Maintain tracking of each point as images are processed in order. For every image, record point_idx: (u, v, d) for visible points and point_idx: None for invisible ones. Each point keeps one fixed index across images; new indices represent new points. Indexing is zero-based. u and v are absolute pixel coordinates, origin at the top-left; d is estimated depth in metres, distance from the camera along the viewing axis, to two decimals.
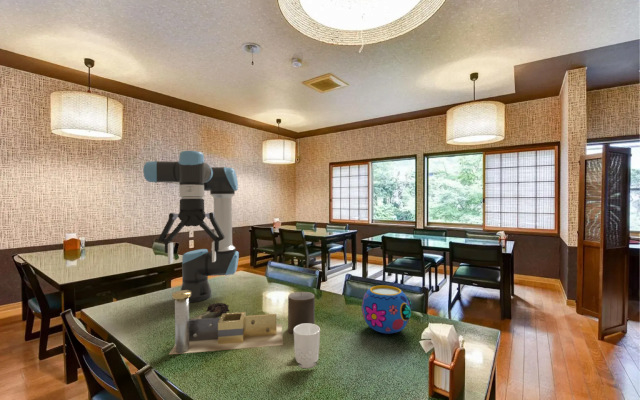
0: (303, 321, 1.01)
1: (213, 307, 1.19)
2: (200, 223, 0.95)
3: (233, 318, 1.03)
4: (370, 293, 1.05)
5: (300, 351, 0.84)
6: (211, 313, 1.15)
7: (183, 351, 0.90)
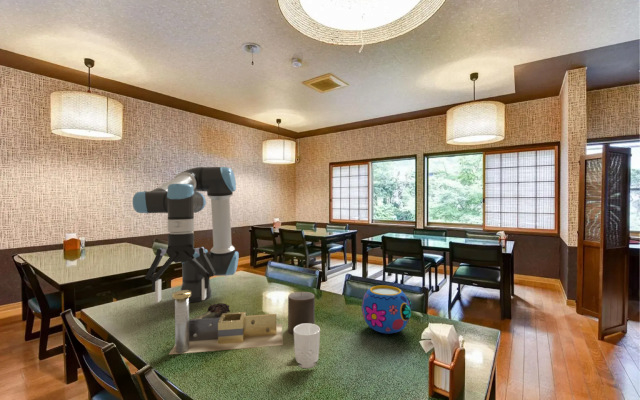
0: (303, 321, 1.01)
1: (214, 307, 1.18)
2: (189, 259, 0.90)
3: (233, 318, 1.03)
4: (370, 293, 1.05)
5: (300, 351, 0.84)
6: (212, 313, 1.15)
7: (183, 351, 0.90)
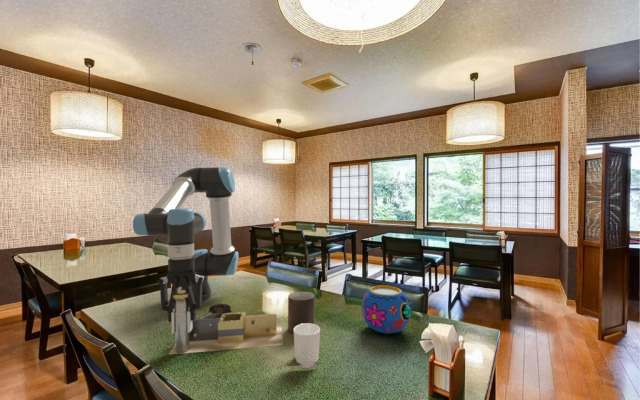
0: (303, 321, 1.01)
1: (215, 308, 1.18)
2: (185, 286, 0.91)
3: (233, 318, 1.03)
4: (370, 293, 1.05)
5: (300, 351, 0.84)
6: (213, 314, 1.14)
7: (183, 351, 0.90)
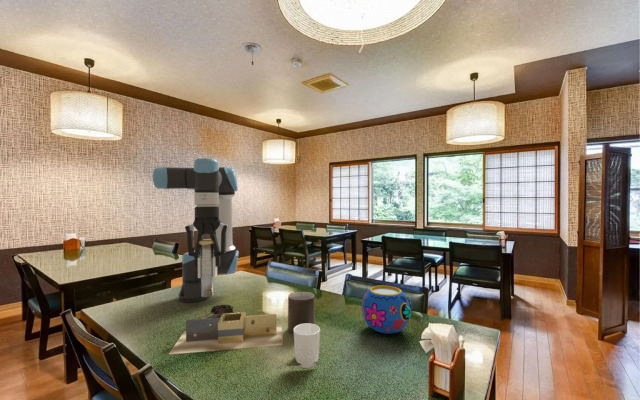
0: (303, 321, 1.01)
1: (217, 309, 1.17)
2: (211, 233, 0.94)
3: (233, 318, 1.03)
4: (370, 293, 1.05)
5: (300, 351, 0.84)
6: (214, 315, 1.13)
7: (209, 295, 0.94)
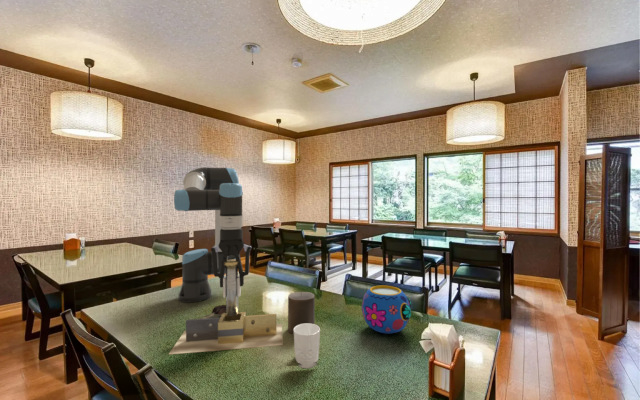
0: (303, 321, 1.01)
1: (218, 309, 1.17)
2: (236, 254, 0.99)
3: (233, 318, 1.03)
4: (370, 293, 1.05)
5: (300, 351, 0.84)
6: (215, 315, 1.13)
7: (234, 314, 0.98)
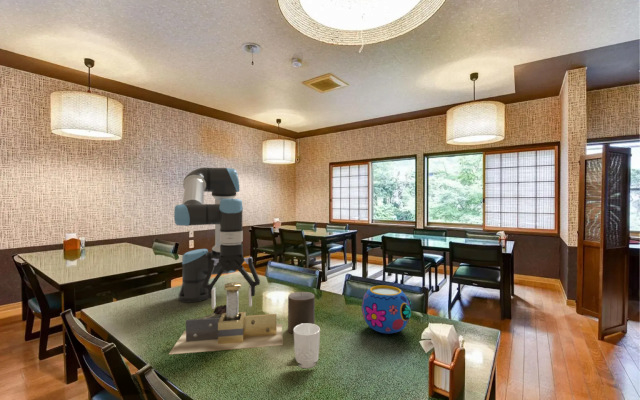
0: (303, 321, 1.01)
1: (220, 309, 1.17)
2: (239, 268, 0.99)
3: None
4: (370, 293, 1.05)
5: (300, 351, 0.84)
6: (216, 315, 1.13)
7: None
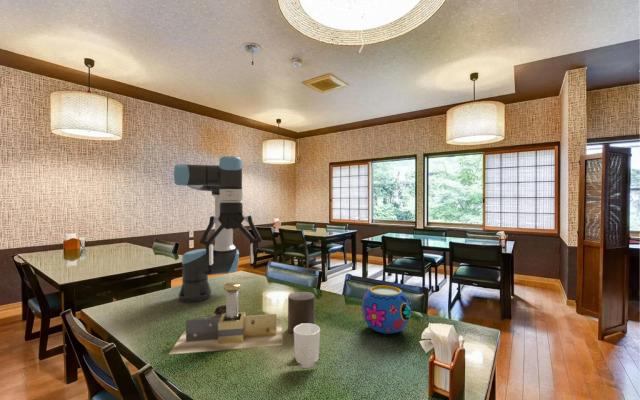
0: (303, 321, 1.01)
1: (220, 309, 1.16)
2: (239, 226, 0.99)
3: None
4: (370, 293, 1.05)
5: (300, 351, 0.84)
6: (217, 315, 1.13)
7: None
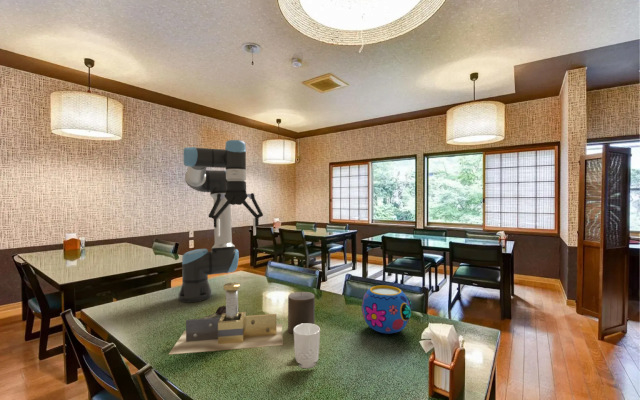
0: (303, 321, 1.01)
1: (221, 309, 1.16)
2: (243, 202, 1.11)
3: None
4: (370, 293, 1.05)
5: (300, 351, 0.84)
6: (217, 316, 1.12)
7: None
